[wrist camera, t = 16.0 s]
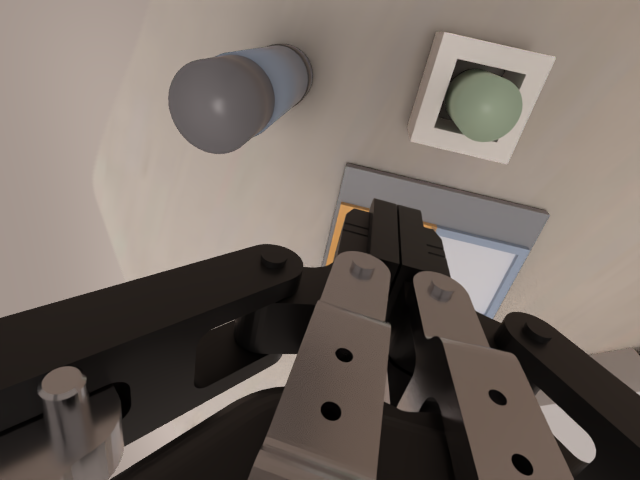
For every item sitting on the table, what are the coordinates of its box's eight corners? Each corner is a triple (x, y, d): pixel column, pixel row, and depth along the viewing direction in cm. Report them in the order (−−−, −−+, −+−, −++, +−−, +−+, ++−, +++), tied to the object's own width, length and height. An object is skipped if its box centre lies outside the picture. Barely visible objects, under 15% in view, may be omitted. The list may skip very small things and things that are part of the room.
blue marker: (261, 37, 26) (164, 44, 15) (318, 50, 26) (265, 67, 14) (254, 97, 28) (165, 145, 16) (308, 110, 28) (253, 167, 16)
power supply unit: (675, 470, 40) (711, 523, 36) (372, 497, 50) (371, 541, 46) (665, 334, 33) (708, 381, 28) (313, 398, 43) (304, 440, 39)
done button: (455, 63, 23) (469, 70, 19) (509, 75, 23) (534, 84, 19) (437, 117, 25) (446, 134, 21) (487, 129, 24) (506, 148, 21)
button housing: (436, 31, 24) (444, 31, 21) (531, 53, 24) (556, 57, 21) (407, 127, 27) (410, 141, 24) (491, 146, 27) (507, 164, 23)
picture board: (346, 162, 29) (345, 168, 28) (546, 210, 28) (552, 218, 27) (316, 289, 35) (314, 298, 34) (480, 330, 34) (484, 341, 33)
